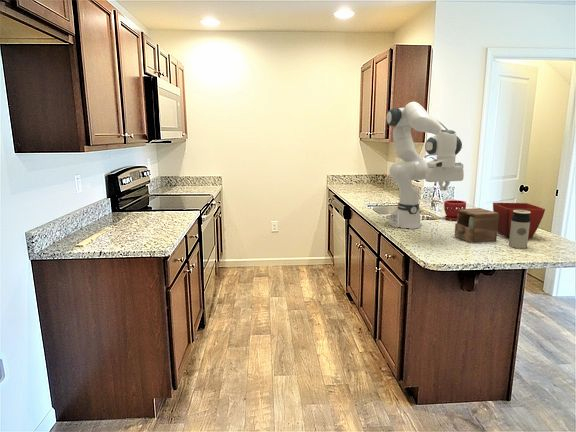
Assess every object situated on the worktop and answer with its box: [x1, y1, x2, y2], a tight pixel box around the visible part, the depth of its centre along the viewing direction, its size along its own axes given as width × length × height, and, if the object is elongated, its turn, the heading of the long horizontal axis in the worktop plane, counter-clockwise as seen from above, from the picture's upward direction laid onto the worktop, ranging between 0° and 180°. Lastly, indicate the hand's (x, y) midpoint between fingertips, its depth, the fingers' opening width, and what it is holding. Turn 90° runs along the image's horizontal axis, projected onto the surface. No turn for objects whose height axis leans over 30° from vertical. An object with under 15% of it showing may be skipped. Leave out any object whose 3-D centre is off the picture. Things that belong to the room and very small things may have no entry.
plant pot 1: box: [443, 199, 467, 222], centre depth 259 cm, size 13×13×12 cm
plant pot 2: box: [492, 202, 546, 239], centre depth 218 cm, size 19×19×17 cm
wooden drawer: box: [454, 222, 474, 243], centre depth 212 cm, size 13×16×7 cm
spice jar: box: [468, 216, 474, 229], centre depth 212 cm, size 5×5×11 cm
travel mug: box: [508, 210, 531, 249], centre depth 197 cm, size 8×8×18 cm
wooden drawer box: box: [456, 207, 499, 244], centre depth 212 cm, size 14×14×15 cm
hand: (443, 190), depth 203 cm, fingers closed
